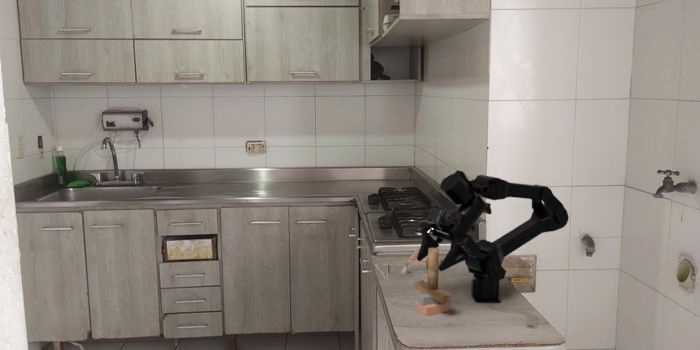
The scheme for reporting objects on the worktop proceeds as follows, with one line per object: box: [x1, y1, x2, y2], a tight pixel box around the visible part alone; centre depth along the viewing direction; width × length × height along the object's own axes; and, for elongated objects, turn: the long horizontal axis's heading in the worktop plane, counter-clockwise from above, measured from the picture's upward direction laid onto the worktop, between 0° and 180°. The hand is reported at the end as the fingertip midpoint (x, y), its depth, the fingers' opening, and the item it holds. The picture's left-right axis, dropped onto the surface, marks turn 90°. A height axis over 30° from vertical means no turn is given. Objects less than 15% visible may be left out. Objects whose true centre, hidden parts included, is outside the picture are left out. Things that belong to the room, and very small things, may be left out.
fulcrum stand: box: [414, 293, 451, 317], centre depth 142 cm, size 7×5×4 cm
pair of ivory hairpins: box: [373, 263, 390, 282], centre depth 170 cm, size 18×5×2 cm, turn 4°
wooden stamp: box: [414, 247, 453, 303], centre depth 140 cm, size 3×12×12 cm, turn 27°
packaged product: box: [399, 248, 442, 279], centre depth 176 cm, size 18×5×10 cm
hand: (428, 265), depth 139 cm, fingers open, 9 cm apart
